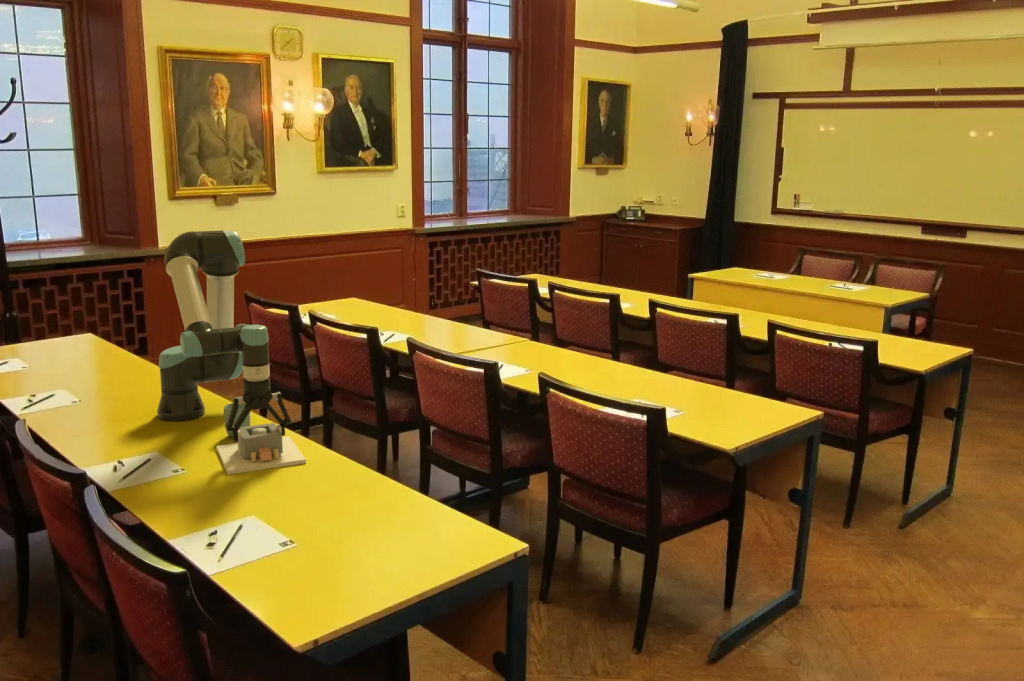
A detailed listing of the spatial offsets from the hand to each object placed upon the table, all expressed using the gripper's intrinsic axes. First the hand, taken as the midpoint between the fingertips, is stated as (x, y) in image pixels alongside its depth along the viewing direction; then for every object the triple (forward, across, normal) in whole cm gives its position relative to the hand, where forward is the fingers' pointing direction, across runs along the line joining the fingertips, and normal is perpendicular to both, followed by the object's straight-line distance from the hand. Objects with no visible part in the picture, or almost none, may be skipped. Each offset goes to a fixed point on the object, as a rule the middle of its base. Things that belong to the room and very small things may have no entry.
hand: (260, 449), depth 249 cm
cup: (+3, -3, +21) cm, 21 cm away
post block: (+2, 0, 0) cm, 2 cm away
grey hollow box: (0, 0, -2) cm, 2 cm away
